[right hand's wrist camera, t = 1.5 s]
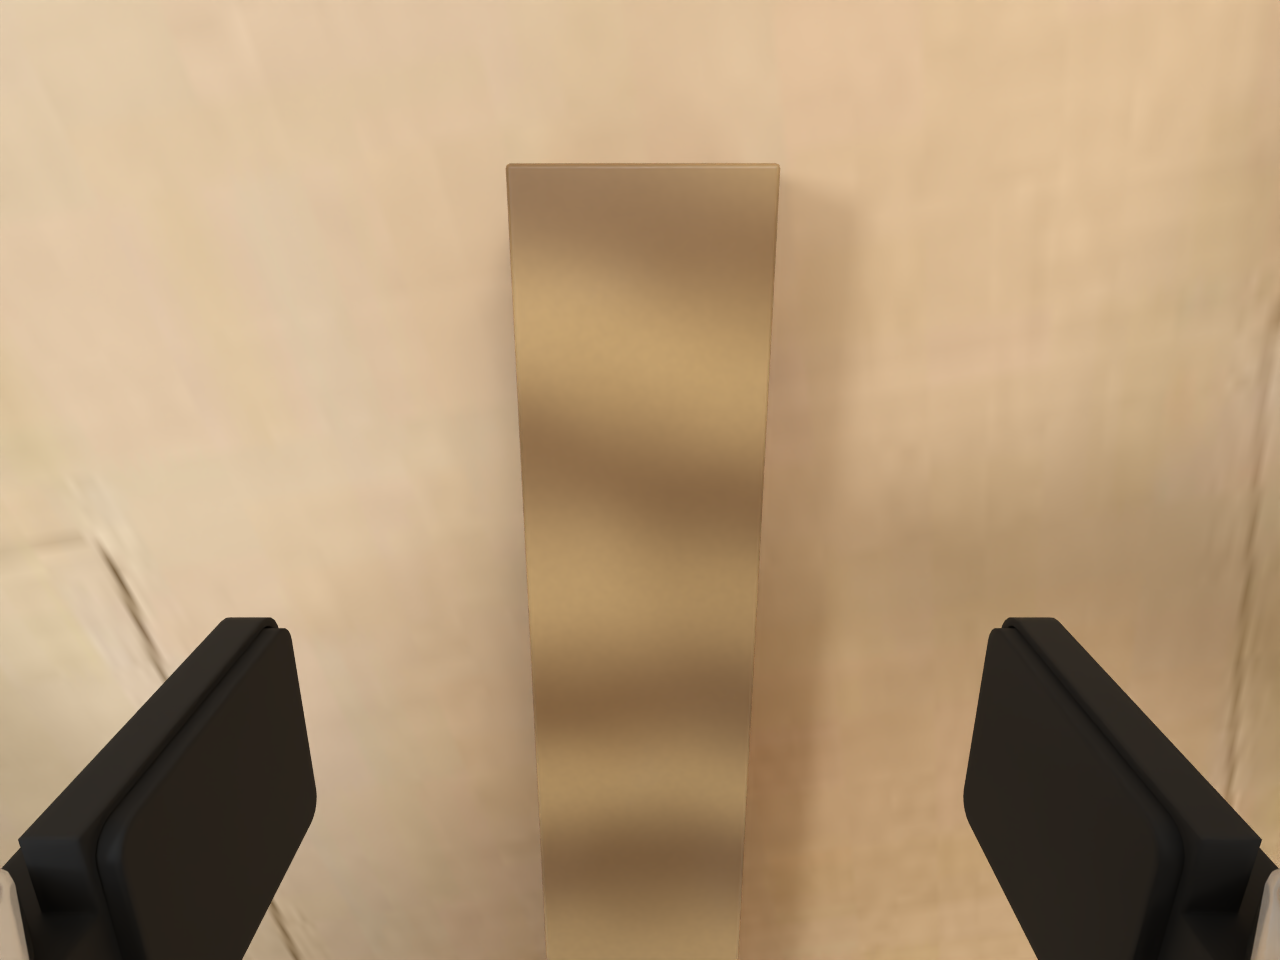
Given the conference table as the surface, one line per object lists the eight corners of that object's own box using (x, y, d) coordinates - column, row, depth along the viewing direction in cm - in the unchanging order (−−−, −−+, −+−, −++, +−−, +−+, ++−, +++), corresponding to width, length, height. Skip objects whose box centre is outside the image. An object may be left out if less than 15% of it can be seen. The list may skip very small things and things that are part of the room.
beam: (537, 165, 23) (505, 163, 18) (747, 165, 23) (781, 163, 18) (581, 1289, 40) (572, 1467, 35) (701, 1289, 40) (711, 1467, 35)
